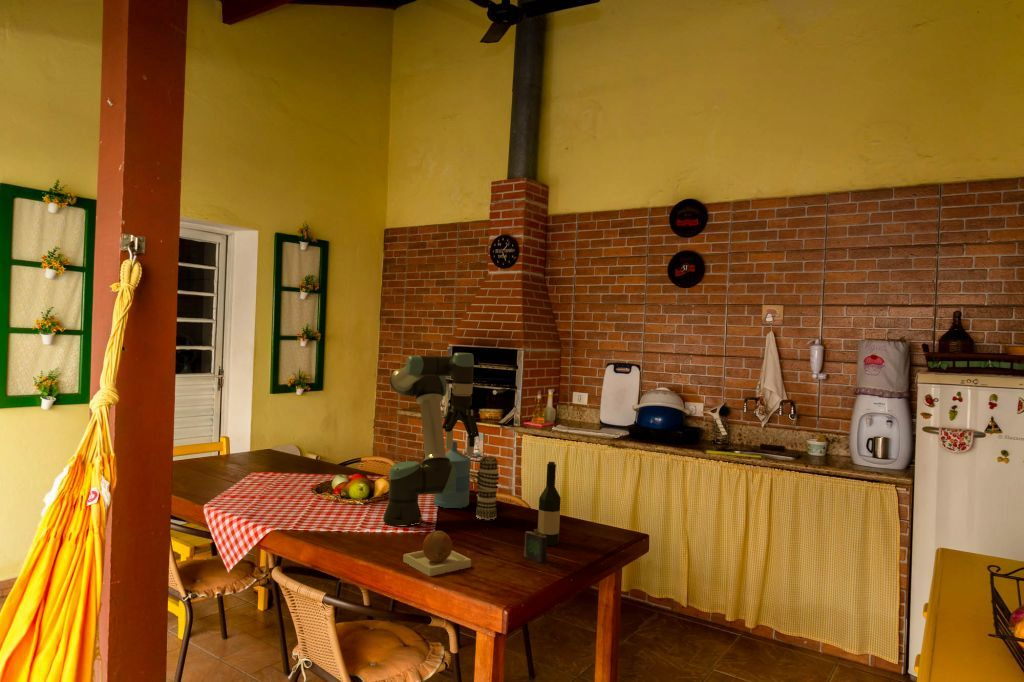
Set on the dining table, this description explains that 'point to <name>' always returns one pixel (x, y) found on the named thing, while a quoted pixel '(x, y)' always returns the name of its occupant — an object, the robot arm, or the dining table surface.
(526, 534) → the flask
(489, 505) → the decorative candle
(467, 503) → the water jug
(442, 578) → the dining table surface
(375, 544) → the dining table surface
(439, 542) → the onion
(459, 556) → the dish
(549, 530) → the wine bottle
